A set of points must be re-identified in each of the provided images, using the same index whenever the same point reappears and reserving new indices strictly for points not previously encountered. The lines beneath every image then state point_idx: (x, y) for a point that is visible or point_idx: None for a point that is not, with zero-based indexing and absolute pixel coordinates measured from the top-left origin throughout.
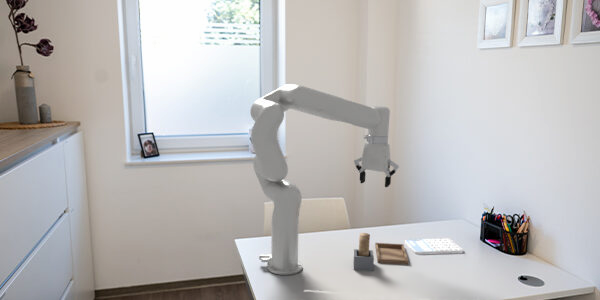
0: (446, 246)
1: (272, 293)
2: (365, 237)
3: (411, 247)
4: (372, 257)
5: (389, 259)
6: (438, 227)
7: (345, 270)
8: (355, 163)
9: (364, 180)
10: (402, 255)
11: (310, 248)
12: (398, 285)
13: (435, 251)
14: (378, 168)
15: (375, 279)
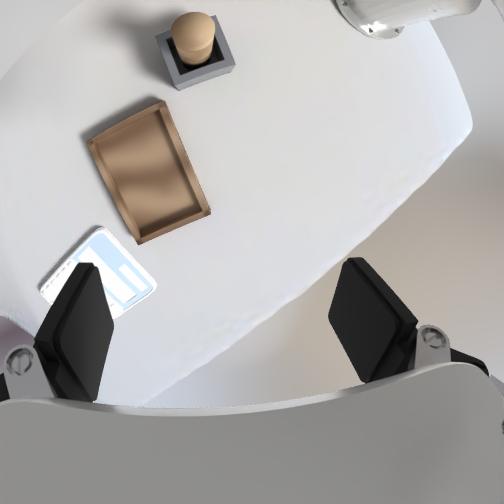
0: None
1: None
2: (184, 16)
3: (121, 249)
4: (160, 37)
5: (132, 117)
6: (139, 378)
7: (235, 26)
8: (502, 387)
9: (337, 315)
10: (121, 188)
11: (365, 121)
12: (90, 29)
13: (69, 256)
14: (111, 463)
15: (146, 20)
